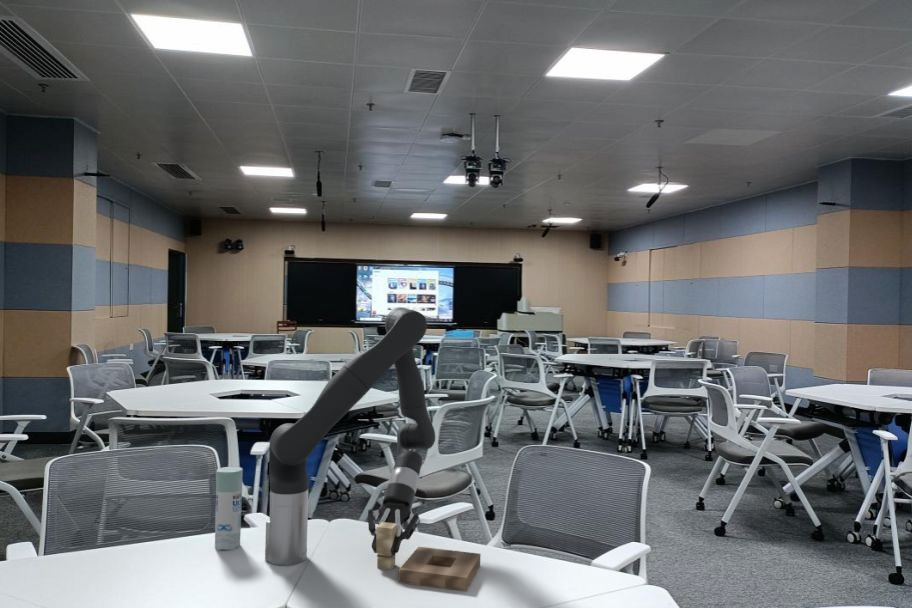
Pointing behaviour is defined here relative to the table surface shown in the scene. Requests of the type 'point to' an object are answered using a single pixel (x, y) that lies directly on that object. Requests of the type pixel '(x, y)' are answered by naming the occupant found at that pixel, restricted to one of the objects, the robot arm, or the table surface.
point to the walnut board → (440, 568)
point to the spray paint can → (228, 508)
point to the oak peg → (385, 545)
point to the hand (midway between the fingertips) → (384, 552)
